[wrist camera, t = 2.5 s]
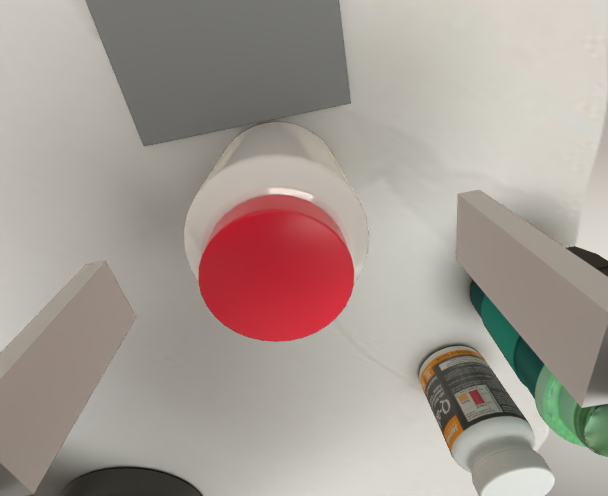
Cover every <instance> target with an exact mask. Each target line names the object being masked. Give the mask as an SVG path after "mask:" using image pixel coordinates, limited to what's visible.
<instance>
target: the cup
mask: <svg viewBox="0 0 608 496" xmlns="http://www.w3.org/2000/svg"><path fill="white" fill-rule="evenodd" d="M471 300H472V303H473V306H474V308H475V309H476V311H477V312H478V314H479V315H480V317H481V318H482V321H483V324H484V326H485V327H486V329H487V330H488V332H489V333H490V335H491V337H492V338H493V340H494V341H495V343H496V344H497V346H498V347H499V349H500V350H501V352H502V353H503V355H504V357H505V358H506V360H507V361H508V363H509V364H510V366H511V367H512V369H513V370H514V372H515V373H516V375H517V377H518V378H519V379H520V381H521V382H522V383H523V384H524V385H525V386H526V387H527V388H528V389H529V391H530V393H531V394H532V396H533V397H534V399H535V403H536V407H537V410H538V412H539V414H540V416H541V417H542V419H543V420H544V421H545V422H546V423H547V425H548V426H549V427H550V428H551V429H552V430H553V431H554V432H555V433H556V434H558V435H559V436H561V437H562V438H564V439H565V440H567V441H569V442H571V443H574V444H577V445H580V446H584V447H588V448H589V449H590V450H592V451H593V452H595V453H597V454H599V455H602V456H606V457H608V404H603V405H596V406H590V407H584V408H581V407H580V405H579V404H578V403H577V402H576V401H575V399H574V398H573V397H572V396H571V395H570V394H569V392H568V391H567V390H566V389H565V388H564V386H563V385H562V384H561V383H560V382H559V381H558V379H557V378H556V377H555V376H554V375H553V373H552V372H551V371H550V370H549V369H548V368H547V366H546V365H545V364H544V363H543V362H542V360H541V359H540V358H539V357H538V356H537V355H536V353H535V352H534V351H533V350H532V349H531V347H530V346H529V345H528V344H527V343H526V342H525V340H524V339H523V338H522V337H521V336H520V334H519V333H518V332H517V331H516V330H515V329H514V327H513V326H512V325H511V324H510V323H509V321H508V320H507V319H506V318H505V317H504V316H503V314H502V313H501V312H500V311H499V310H498V308H497V307H496V306H495V305H494V304H493V303H492V301H491V300H490V299H489V298H488V297H487V295H486V294H485V293H484V292H483V291H482V290H481V288H480V287H479V286H478V285H477V284H476V282H475V281H474V280H473V282H472V285H471Z"/></svg>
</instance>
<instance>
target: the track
mask: <svg viewBox="0 0 608 496" xmlns="http://www.w3.org/2000/svg"><path fill="white" fill-rule="evenodd" d="M86 3H87V5H88V8H89V10H90V13H91V15H92V18H93V20H94V23H95V25H96V28H97V30H98V33H99V35H100V38H101V40H102V43H103V45H104V48H105V50H106V53H107V55H108V58H109V60H110V63H111V65H112V68H113V70H114V73H115V75H116V78H117V80H118V83H119V85H120V88H121V90H122V93H123V95H124V98H125V100H126V103H127V105H128V108H129V110H130V113H131V115H132V118H133V120H134V123H135V125H136V128H137V130H138V133H139V135H140V138H141V140H142V143H143V145H144V146H148V145H153V144H158V143H162V142H167V141H172V140H177V139H182V138H186V137H191V136H196V135H201V134H206V133H210V132H215V131H220V130H225V129H230V128H235V127H239V126H244V125H249V124H254V123H259V122H263V121H268V120H273V119H278V118H283V117H287V116H292V115H297V114H302V113H307V112H312V111H316V110H321V109H326V108H331V107H336V106H340V105H345V104H350V103H351V101H350V92H349V83H348V75H347V66H346V57H345V48H344V40H343V31H342V22H341V13H340V5H339V0H86Z"/></svg>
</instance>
